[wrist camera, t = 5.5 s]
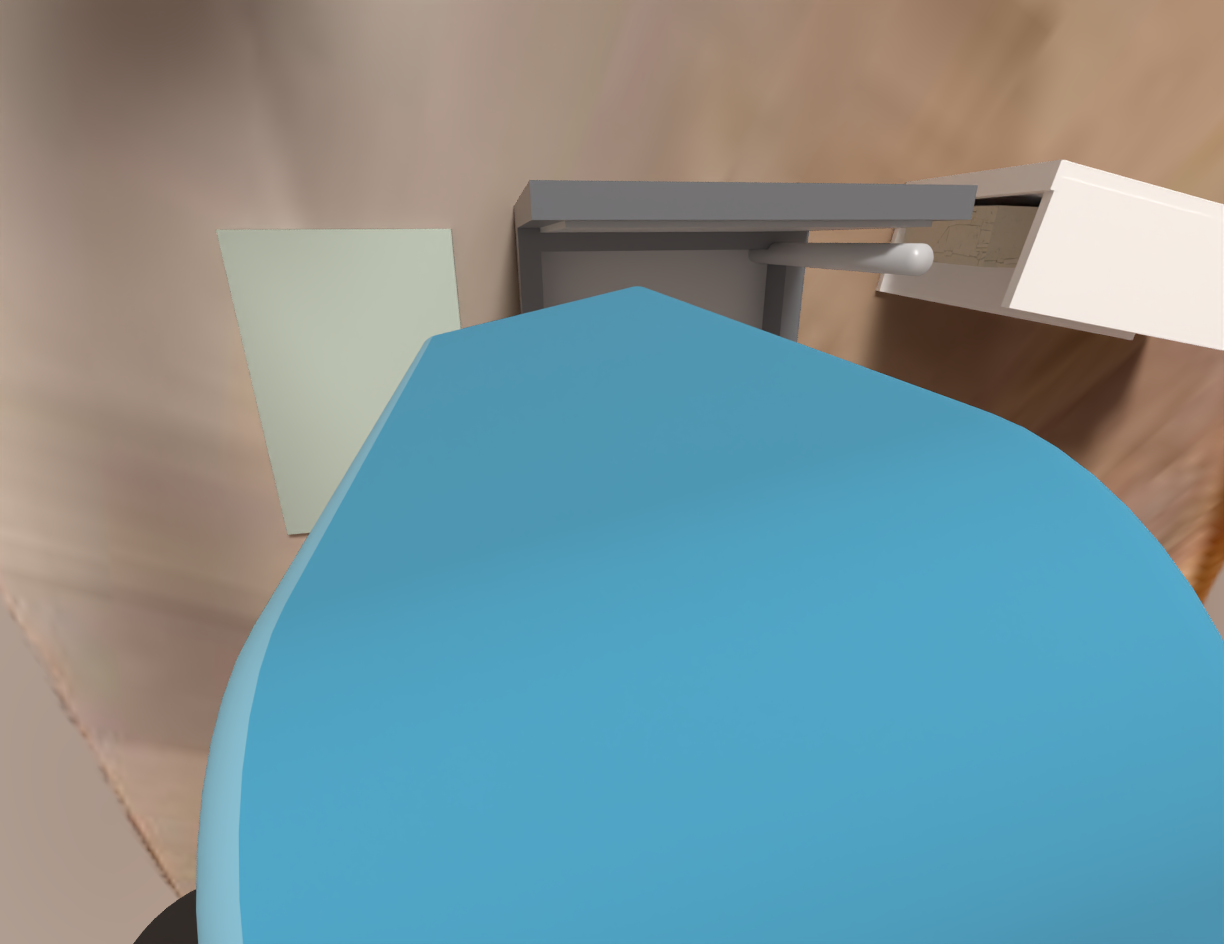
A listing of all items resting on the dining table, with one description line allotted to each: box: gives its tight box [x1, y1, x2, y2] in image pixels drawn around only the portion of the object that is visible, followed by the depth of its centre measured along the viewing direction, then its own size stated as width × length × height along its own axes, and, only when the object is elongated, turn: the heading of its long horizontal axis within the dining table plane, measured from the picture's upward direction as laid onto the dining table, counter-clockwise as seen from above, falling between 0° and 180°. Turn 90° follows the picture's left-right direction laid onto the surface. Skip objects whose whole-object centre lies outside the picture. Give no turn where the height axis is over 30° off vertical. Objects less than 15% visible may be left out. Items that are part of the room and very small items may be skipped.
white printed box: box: [876, 160, 1224, 351], centre depth 30 cm, size 20×6×9 cm, turn 80°
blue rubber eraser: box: [196, 286, 1224, 944], centre depth 10 cm, size 12×4×12 cm, turn 12°
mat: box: [216, 229, 461, 535], centre depth 30 cm, size 15×10×1 cm, turn 0°
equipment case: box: [514, 180, 978, 343], centre depth 27 cm, size 18×14×13 cm
